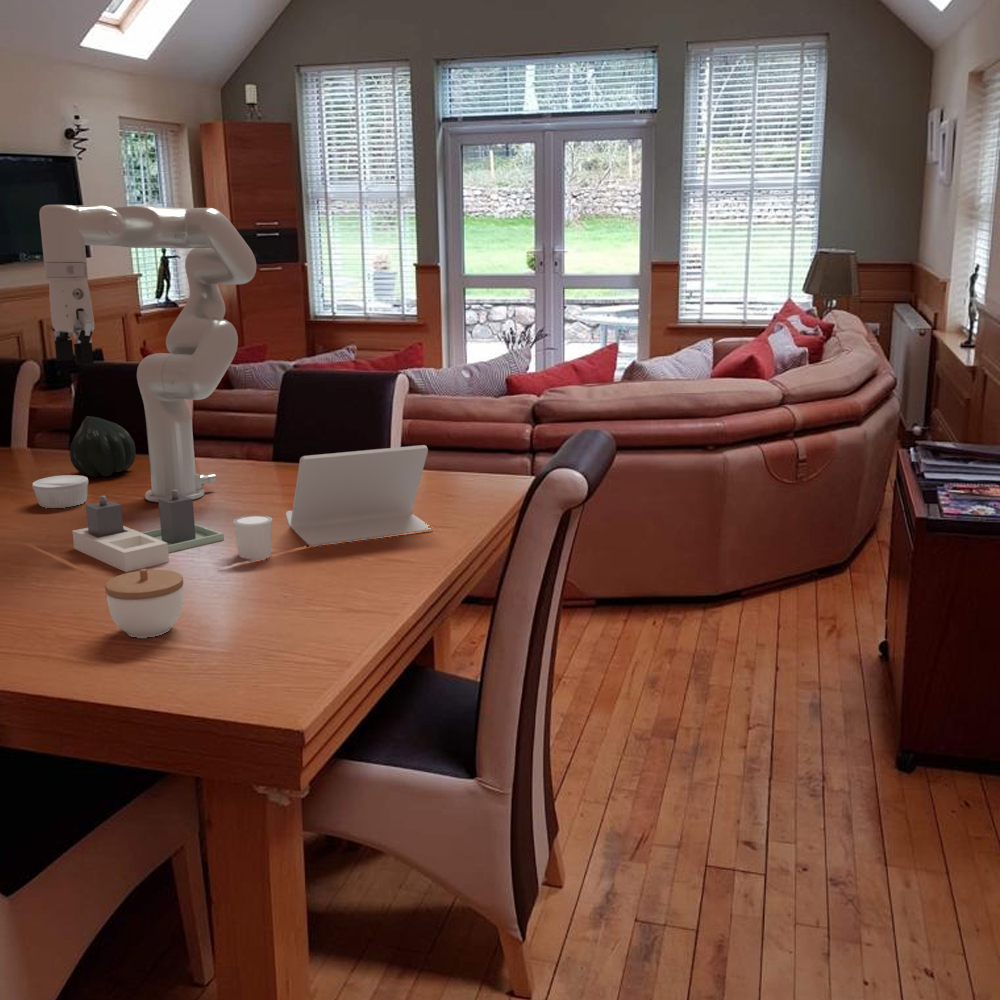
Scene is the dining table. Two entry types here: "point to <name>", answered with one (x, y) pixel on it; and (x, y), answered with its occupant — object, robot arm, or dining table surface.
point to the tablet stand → (357, 495)
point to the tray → (202, 538)
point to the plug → (176, 518)
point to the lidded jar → (145, 601)
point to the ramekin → (61, 491)
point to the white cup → (254, 537)
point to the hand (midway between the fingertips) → (74, 362)
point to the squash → (101, 448)
